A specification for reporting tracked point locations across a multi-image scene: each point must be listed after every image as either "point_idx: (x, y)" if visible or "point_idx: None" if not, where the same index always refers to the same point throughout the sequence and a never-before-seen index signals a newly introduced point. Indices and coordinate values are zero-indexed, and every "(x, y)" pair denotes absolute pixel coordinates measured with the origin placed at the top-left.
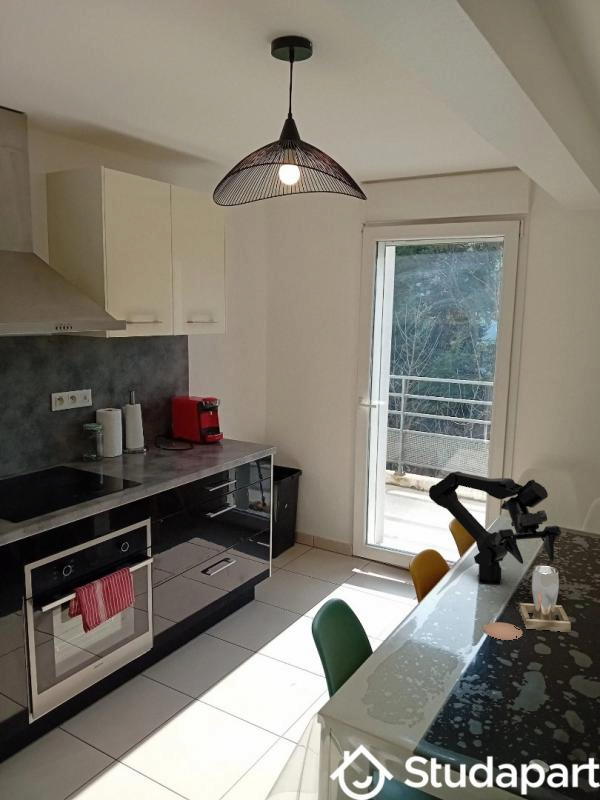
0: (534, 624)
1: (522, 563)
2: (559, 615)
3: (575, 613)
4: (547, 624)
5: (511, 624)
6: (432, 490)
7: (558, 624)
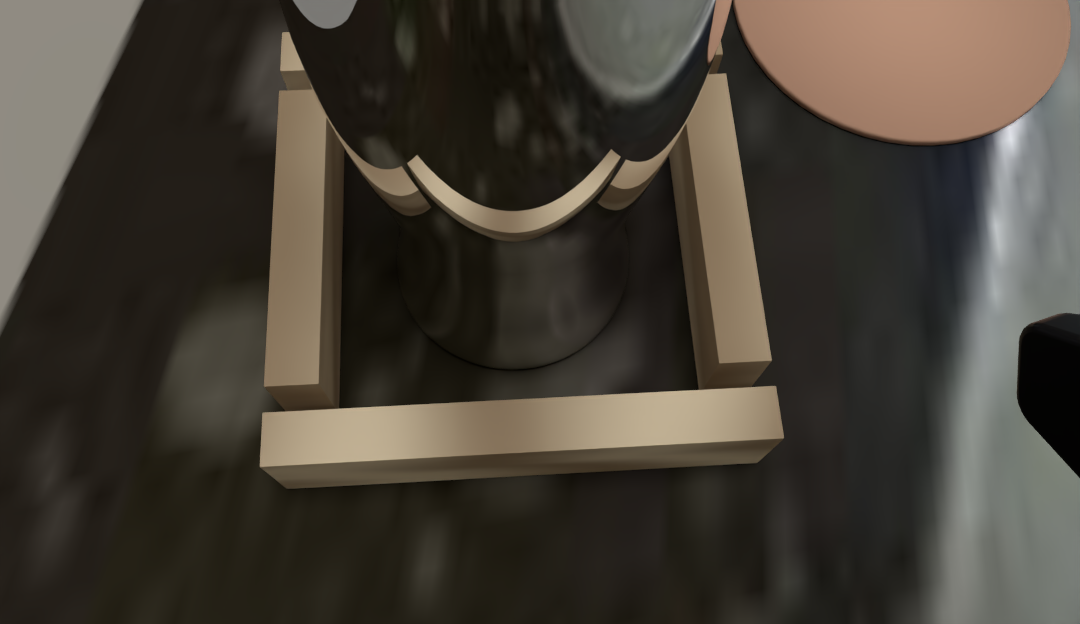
0: None
1: (1026, 367)
2: (332, 342)
3: (112, 540)
4: None
5: (835, 116)
6: None
7: None
